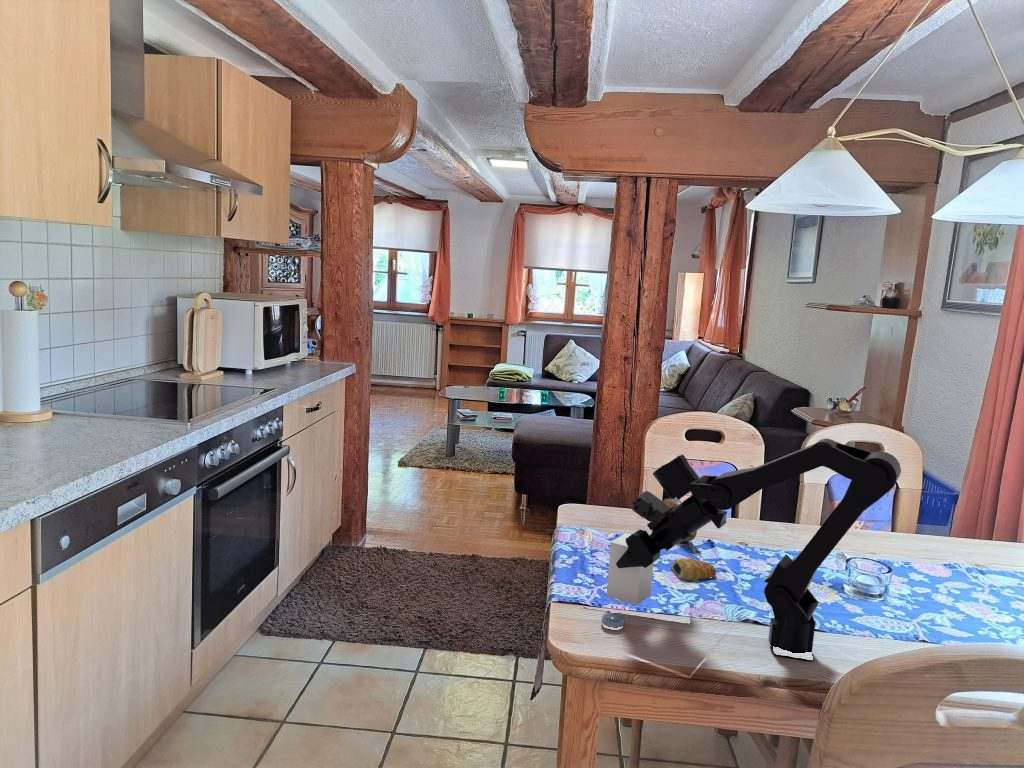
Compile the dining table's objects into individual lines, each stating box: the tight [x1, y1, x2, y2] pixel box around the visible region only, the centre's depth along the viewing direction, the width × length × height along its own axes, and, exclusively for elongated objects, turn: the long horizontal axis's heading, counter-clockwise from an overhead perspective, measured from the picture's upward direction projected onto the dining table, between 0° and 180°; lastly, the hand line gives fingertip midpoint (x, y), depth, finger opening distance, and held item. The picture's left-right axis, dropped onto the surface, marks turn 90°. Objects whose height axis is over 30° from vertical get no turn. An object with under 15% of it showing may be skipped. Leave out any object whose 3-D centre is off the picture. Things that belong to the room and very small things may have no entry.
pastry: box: [670, 557, 717, 581], centre depth 156 cm, size 9×7×4 cm
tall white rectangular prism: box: [607, 532, 654, 605], centre depth 142 cm, size 6×6×12 cm
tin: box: [662, 498, 698, 543], centre depth 180 cm, size 15×3×8 cm, turn 17°
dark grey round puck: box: [601, 612, 625, 628], centre depth 131 cm, size 4×4×2 cm
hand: (627, 558), depth 142 cm, fingers open, 9 cm apart
